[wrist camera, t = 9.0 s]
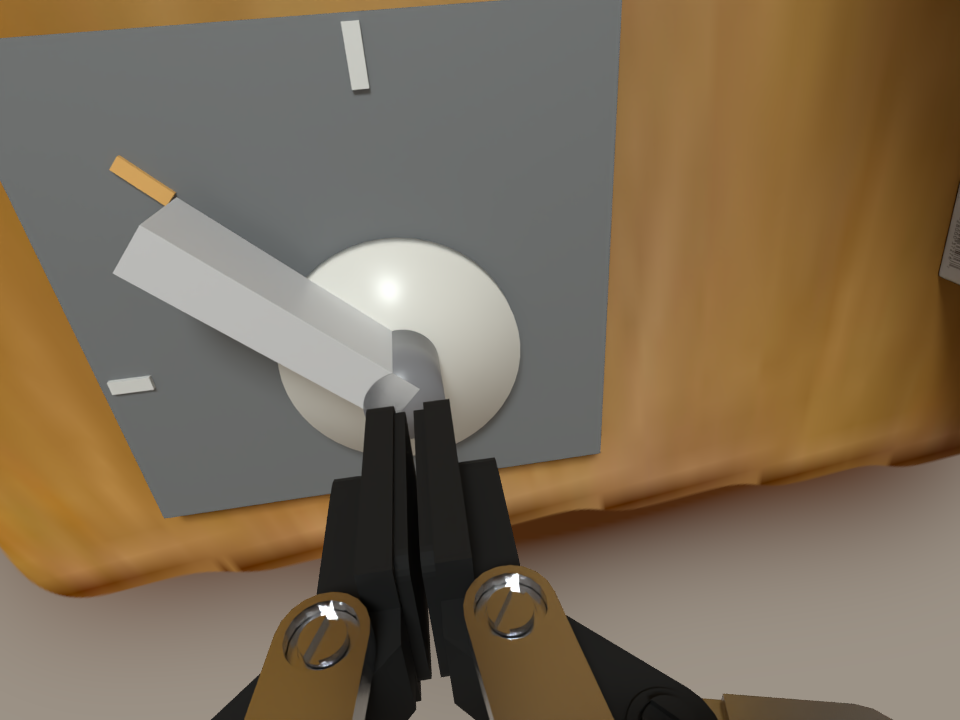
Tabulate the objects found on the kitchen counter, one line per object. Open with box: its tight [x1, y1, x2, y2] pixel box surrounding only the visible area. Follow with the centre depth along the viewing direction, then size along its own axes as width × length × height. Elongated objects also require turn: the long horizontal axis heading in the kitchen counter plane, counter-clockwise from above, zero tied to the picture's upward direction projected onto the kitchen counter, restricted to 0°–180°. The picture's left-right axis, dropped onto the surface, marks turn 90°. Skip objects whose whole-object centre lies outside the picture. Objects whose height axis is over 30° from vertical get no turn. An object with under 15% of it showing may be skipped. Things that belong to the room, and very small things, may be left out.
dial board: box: [0, 0, 622, 518], centre depth 28 cm, size 26×24×2 cm
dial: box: [113, 197, 520, 455], centre depth 26 cm, size 18×12×5 cm, turn 51°
